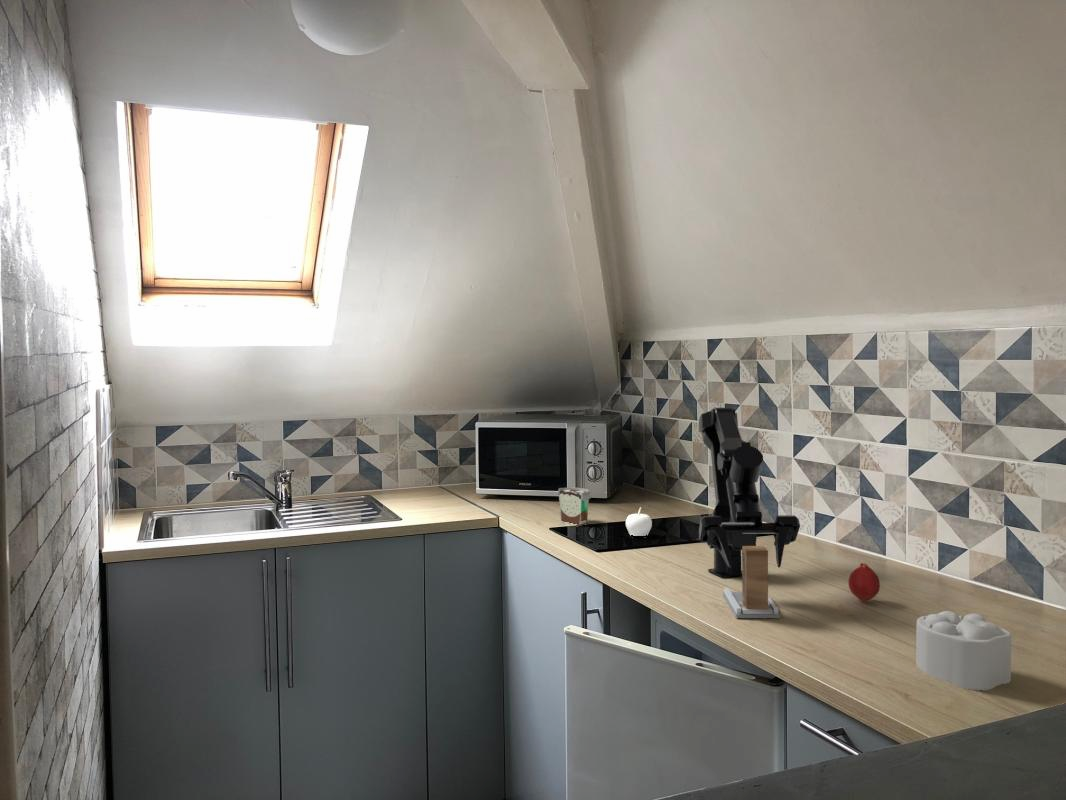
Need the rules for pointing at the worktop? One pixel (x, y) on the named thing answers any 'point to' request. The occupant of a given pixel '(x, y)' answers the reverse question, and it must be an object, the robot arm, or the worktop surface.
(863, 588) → the onion
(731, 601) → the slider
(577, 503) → the food container
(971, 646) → the lumpy-topped squat cylinder
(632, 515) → the plain white apple
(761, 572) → the brown rectangular block
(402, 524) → the worktop surface
